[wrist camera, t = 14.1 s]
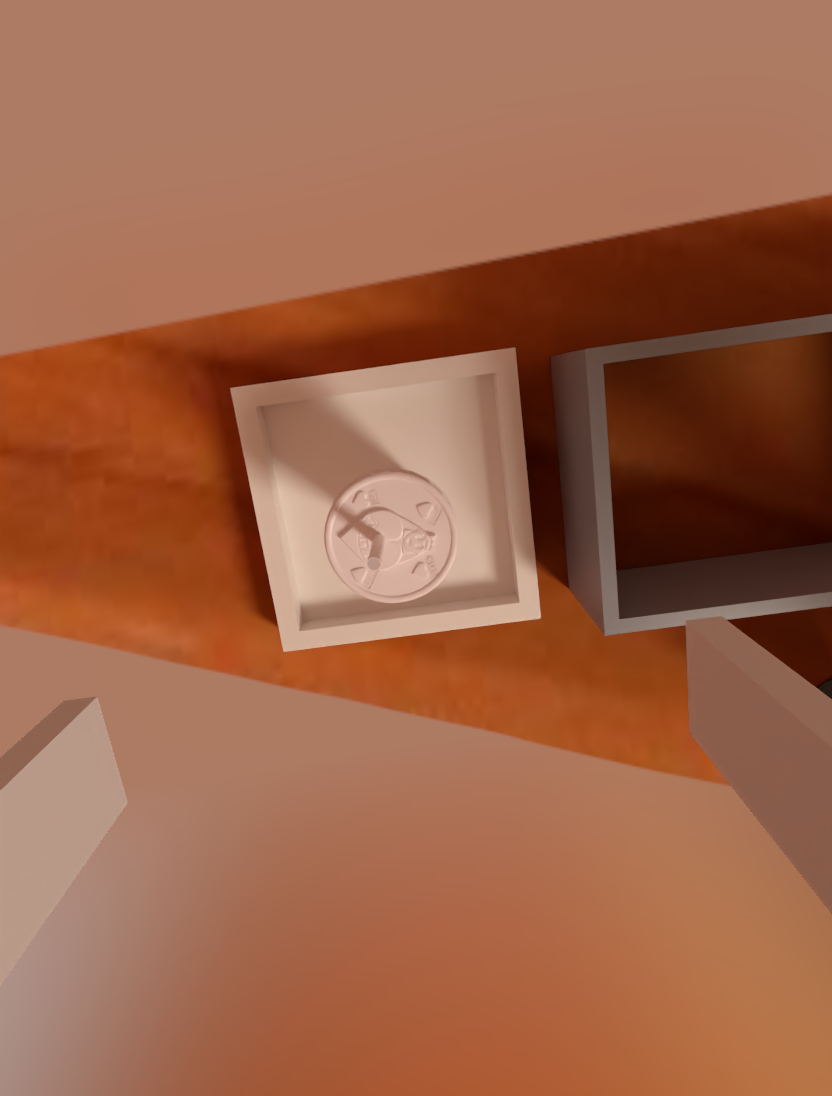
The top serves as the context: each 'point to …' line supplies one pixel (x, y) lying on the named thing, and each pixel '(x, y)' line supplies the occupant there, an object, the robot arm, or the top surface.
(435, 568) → the smoothie
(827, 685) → the sundae
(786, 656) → the top surface
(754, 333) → the deep bin
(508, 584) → the tray
